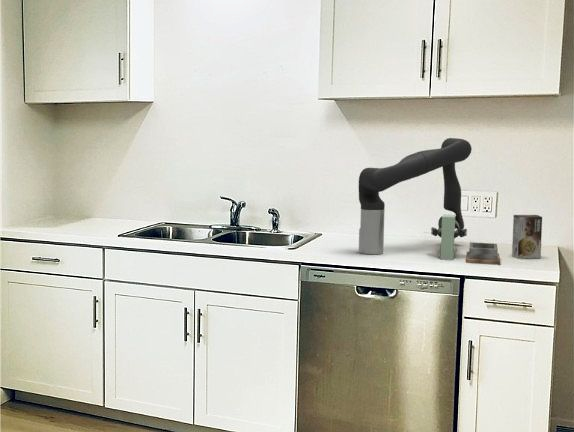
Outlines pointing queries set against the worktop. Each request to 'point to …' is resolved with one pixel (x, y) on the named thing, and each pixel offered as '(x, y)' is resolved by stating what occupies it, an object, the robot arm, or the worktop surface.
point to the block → (447, 236)
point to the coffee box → (527, 236)
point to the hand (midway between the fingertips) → (447, 234)
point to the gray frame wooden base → (483, 253)
